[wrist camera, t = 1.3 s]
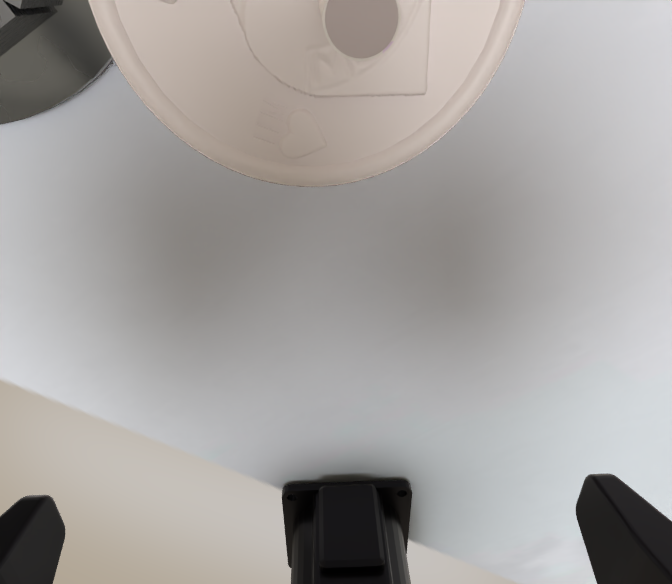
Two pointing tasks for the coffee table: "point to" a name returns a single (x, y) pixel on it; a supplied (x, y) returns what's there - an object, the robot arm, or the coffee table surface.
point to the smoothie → (308, 77)
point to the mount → (46, 54)
